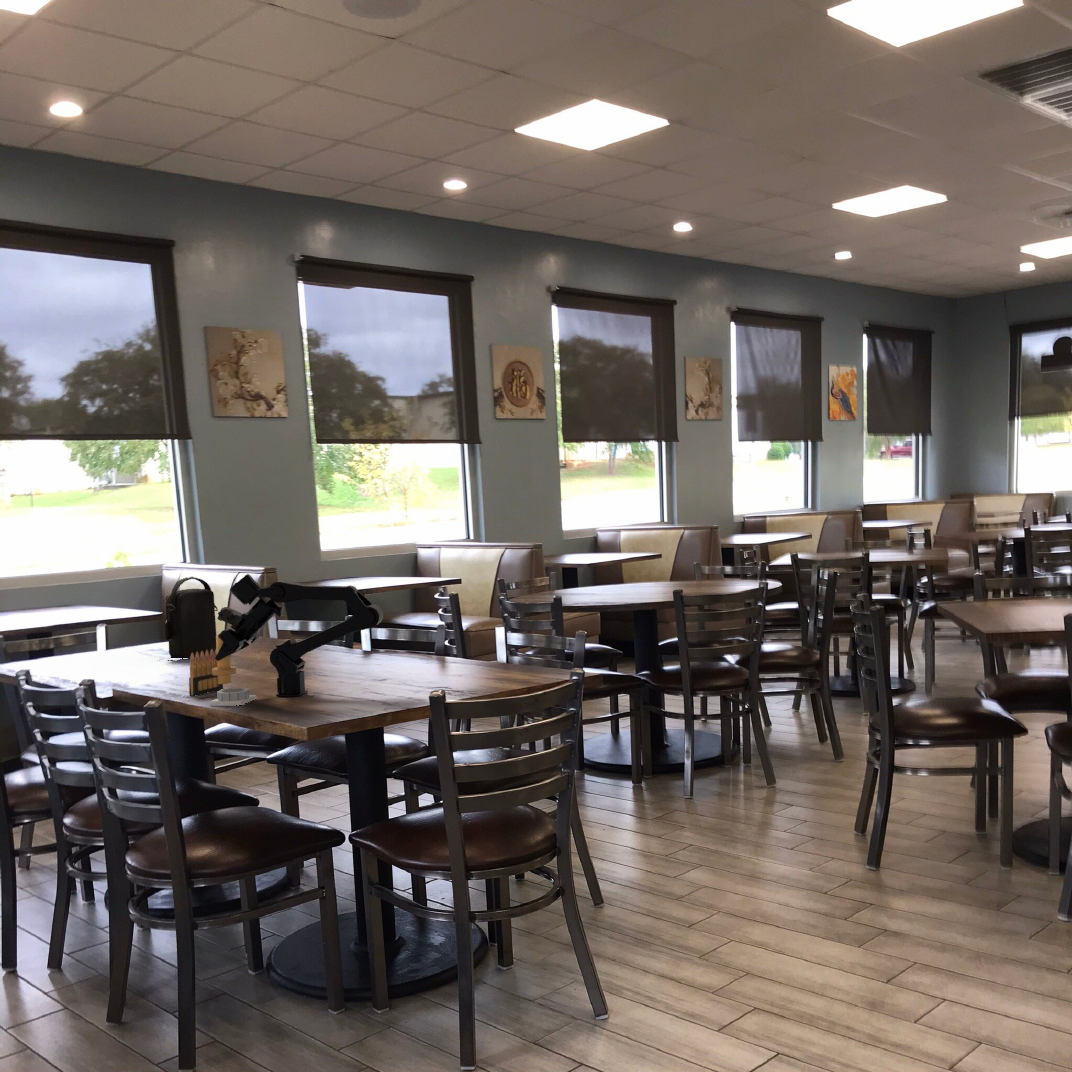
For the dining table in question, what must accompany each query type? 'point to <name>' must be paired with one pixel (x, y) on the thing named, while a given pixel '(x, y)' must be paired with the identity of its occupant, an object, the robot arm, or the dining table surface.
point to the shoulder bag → (190, 620)
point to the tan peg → (223, 666)
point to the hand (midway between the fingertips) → (218, 658)
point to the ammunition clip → (203, 674)
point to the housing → (232, 697)
